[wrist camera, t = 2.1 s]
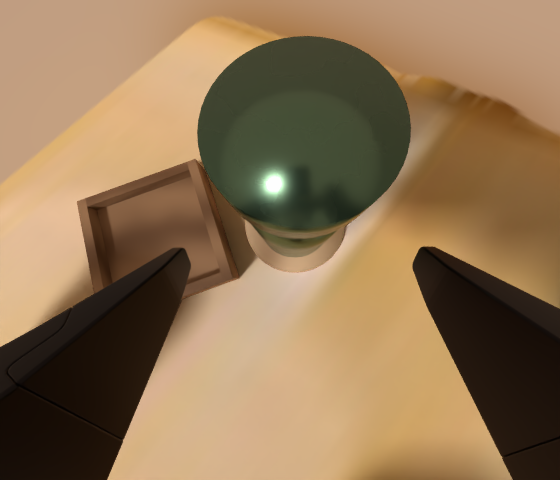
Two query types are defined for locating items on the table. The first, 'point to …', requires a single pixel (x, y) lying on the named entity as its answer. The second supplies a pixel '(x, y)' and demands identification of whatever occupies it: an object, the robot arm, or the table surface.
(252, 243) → the cork coaster
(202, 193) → the walnut tray
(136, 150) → the table surface
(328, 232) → the tea canister
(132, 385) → the robot arm
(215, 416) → the table surface
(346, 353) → the table surface
